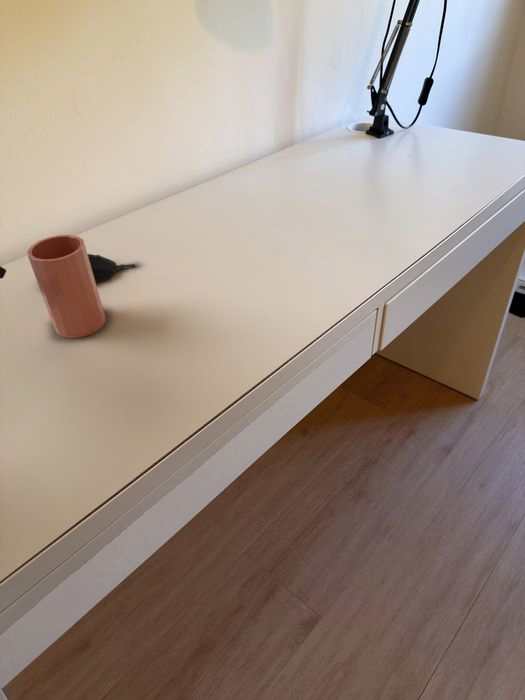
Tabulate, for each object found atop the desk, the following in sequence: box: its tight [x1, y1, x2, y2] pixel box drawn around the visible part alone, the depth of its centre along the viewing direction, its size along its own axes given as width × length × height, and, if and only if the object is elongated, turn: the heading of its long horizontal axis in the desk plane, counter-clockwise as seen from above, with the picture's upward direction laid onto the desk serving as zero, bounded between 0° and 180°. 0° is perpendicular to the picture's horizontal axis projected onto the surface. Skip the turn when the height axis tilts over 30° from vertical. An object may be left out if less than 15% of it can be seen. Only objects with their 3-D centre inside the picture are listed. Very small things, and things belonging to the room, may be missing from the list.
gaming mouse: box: [87, 253, 136, 283], centre depth 84 cm, size 6×15×4 cm, turn 109°
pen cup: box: [27, 234, 106, 339], centre depth 71 cm, size 7×7×12 cm
